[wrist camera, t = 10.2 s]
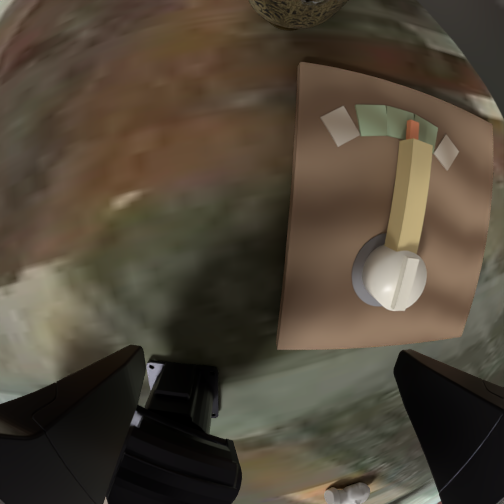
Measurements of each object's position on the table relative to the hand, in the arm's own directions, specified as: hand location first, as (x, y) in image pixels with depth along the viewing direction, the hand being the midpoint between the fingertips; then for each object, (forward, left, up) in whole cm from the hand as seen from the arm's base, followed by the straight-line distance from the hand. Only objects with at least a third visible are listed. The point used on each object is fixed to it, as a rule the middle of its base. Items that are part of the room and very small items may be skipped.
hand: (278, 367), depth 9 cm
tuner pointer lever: (+5, -10, -12) cm, 16 cm away
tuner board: (+4, -12, -13) cm, 18 cm away
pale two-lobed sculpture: (-36, -17, -13) cm, 42 cm away
